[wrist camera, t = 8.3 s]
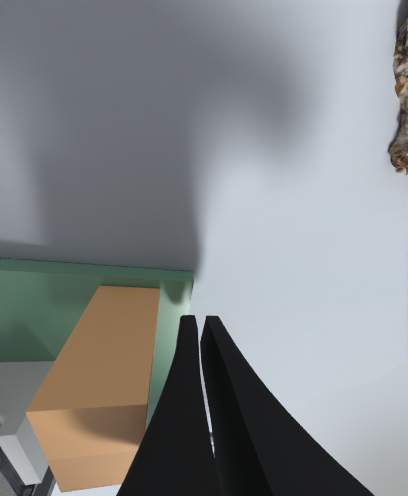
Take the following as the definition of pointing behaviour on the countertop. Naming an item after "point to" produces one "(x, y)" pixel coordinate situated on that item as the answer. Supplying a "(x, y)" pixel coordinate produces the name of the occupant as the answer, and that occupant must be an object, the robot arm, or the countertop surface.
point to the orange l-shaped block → (99, 390)
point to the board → (65, 340)
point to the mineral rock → (401, 100)
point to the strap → (12, 480)
